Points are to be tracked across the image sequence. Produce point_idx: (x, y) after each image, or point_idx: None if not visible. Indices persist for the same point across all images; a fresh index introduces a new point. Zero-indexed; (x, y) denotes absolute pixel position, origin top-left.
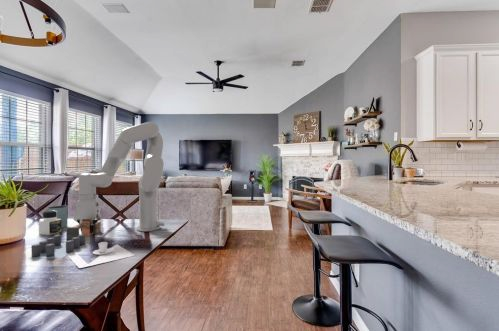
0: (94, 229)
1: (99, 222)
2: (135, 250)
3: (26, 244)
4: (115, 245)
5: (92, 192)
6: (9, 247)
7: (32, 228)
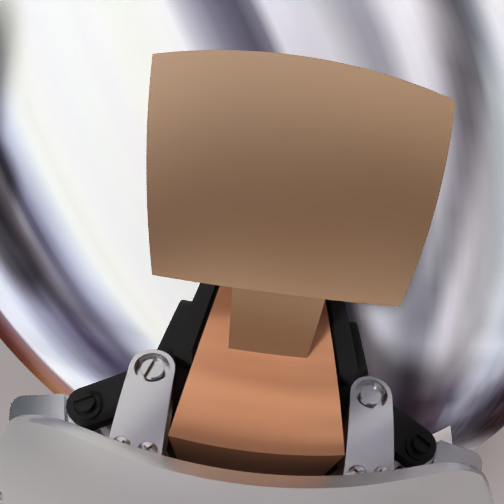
0: (354, 332)
1: (442, 171)
2: (468, 443)
3: (31, 346)
4: (440, 432)
5: None
6: (22, 358)
7: None
